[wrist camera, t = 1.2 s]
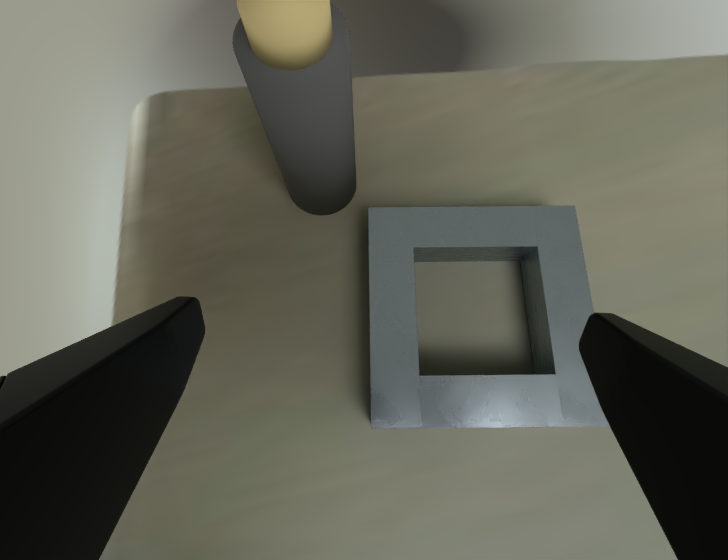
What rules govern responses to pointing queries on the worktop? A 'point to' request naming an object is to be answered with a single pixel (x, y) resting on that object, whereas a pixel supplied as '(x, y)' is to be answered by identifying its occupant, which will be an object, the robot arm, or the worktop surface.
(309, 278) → the worktop surface
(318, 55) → the plug
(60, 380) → the robot arm
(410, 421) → the housing
